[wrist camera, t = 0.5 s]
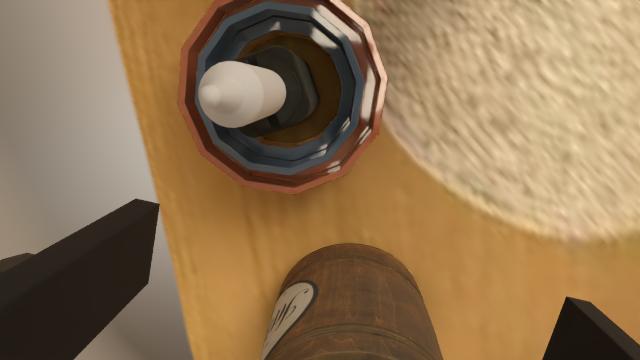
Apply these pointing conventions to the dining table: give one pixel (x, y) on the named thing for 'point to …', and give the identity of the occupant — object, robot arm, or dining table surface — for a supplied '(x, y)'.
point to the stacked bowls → (232, 44)
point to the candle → (259, 92)
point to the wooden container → (350, 310)
